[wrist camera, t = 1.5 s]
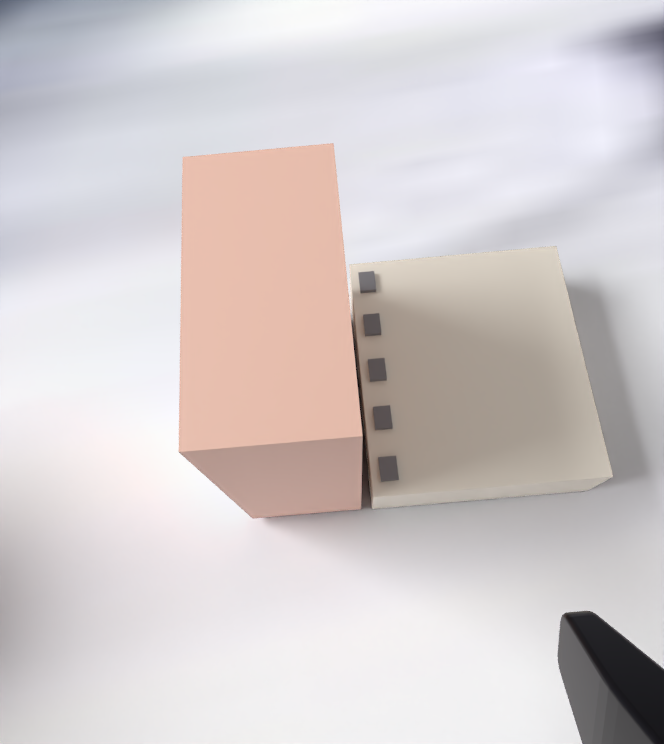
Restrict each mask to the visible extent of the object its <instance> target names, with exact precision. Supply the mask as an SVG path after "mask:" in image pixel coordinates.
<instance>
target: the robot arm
mask: <svg viewBox="0 0 664 744" xmlns="http://www.w3.org/2000/svg"><path fill="white" fill-rule="evenodd" d="M558 664H559V669H560V673H561V676H562V679H563V683H564V686H565V689H566V692H567V695H568V699H569V702H570V705H571V708H572V711H573V715H574V718H575V721H576V724H577V727H578V731H579V734H580V737H581V740H582V743H583V744H664V669H663V668H662V667H661V666H660V665H658V664H657V663H656V662H655V661H653V660H652V659H651V658H650V657H648V656H647V655H646V654H645V653H643V652H642V651H641V650H640V649H638V648H637V647H636V646H635V645H634V644H632V643H631V642H630V641H629V640H627V639H626V638H625V637H624V636H622V635H621V634H620V633H619V632H617V631H616V630H615V629H614V628H613V627H611V626H610V625H609V624H608V623H606V622H605V621H604V620H603V619H601V618H600V617H599V616H598V615H596V614H595V613H593V612H591V611H580V612H569V613H565V614H563V615H562V617H561V621H560V633H559V645H558Z"/></svg>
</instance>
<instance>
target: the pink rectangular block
mask: <svg viewBox="0 0 664 744" xmlns="http://www.w3.org/2000/svg"><path fill="white" fill-rule="evenodd" d="M362 443H363V435H362V425H361V415H360V405H359V395H358V385H357V375H356V365H355V355H354V345H353V334H352V324H351V314H350V304H349V294H348V284H347V274H346V264H345V254H344V244H343V234H342V224H341V214H340V204H339V194H338V184H337V174H336V164H335V154H334V144H333V143H332V144H321V145H310V146H299V147H288V148H277V149H266V150H255V151H244V152H233V153H222V154H211V155H200V156H189V157H183V173H182V250H181V327H180V403H179V453H180V454H182V455H183V456H184V457H185V458H186V459H187V460H188V461H189V462H190V463H192V464H193V465H194V466H195V467H196V468H197V469H198V470H199V471H200V472H202V473H203V474H204V475H205V476H206V477H207V478H208V479H209V480H210V481H212V482H213V483H214V484H215V485H216V486H217V487H218V488H219V489H220V490H222V491H223V492H224V493H225V494H226V495H227V496H228V497H229V498H230V499H232V500H233V501H234V502H235V503H236V504H237V505H238V506H239V507H240V508H242V509H243V510H244V511H245V512H246V513H247V514H248V515H249V516H250V517H252V518H264V517H276V516H287V515H299V514H311V513H322V512H334V511H346V510H357V509H361V494H362Z"/></svg>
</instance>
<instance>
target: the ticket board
mask: <svg viewBox="0 0 664 744" xmlns="http://www.w3.org/2000/svg"><path fill="white" fill-rule="evenodd" d="M350 297H351V307H352V317H353V326H354V336H355V346H356V356H357V366H358V376H359V386H360V396H361V406H362V416H363V426H364V436H365V445H366V455H367V465H368V475H369V485H370V495H371V505H372V509H381V508H392V507H404V506H416V505H427V504H439V503H451V502H462V501H474V500H486V499H497V498H509V497H521V496H532V495H544V494H556V493H567V492H579V491H588V490H590V489H592V488H593V487H595V486H597V485H599V484H601V483H603V482H605V481H606V480H608V479H610V478H612V477H613V474H612V470H611V466H610V462H609V458H608V453H607V449H606V445H605V441H604V437H603V433H602V429H601V425H600V421H599V417H598V413H597V409H596V405H595V401H594V397H593V393H592V389H591V385H590V381H589V377H588V373H587V369H586V365H585V360H584V356H583V352H582V348H581V344H580V340H579V336H578V332H577V328H576V324H575V320H574V316H573V312H572V308H571V304H570V300H569V296H568V292H567V288H566V284H565V280H564V276H563V272H562V267H561V263H560V259H559V255H558V251H557V247H556V246H550V247H539V248H528V249H517V250H506V251H494V252H483V253H472V254H461V255H450V256H439V257H427V258H416V259H405V260H394V261H383V262H372V263H360V264H350Z"/></svg>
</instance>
